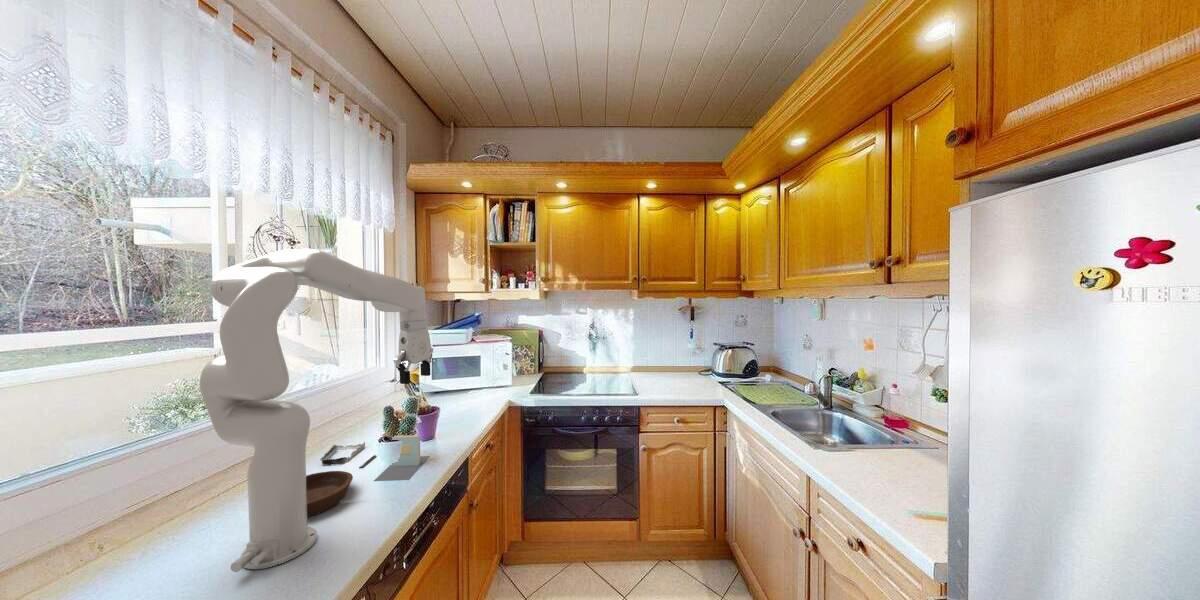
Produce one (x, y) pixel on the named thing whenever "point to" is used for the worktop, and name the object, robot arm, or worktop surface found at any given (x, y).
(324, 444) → the worktop surface
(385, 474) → the mat
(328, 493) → the dish
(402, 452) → the tile
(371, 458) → the dark grey thin rod
